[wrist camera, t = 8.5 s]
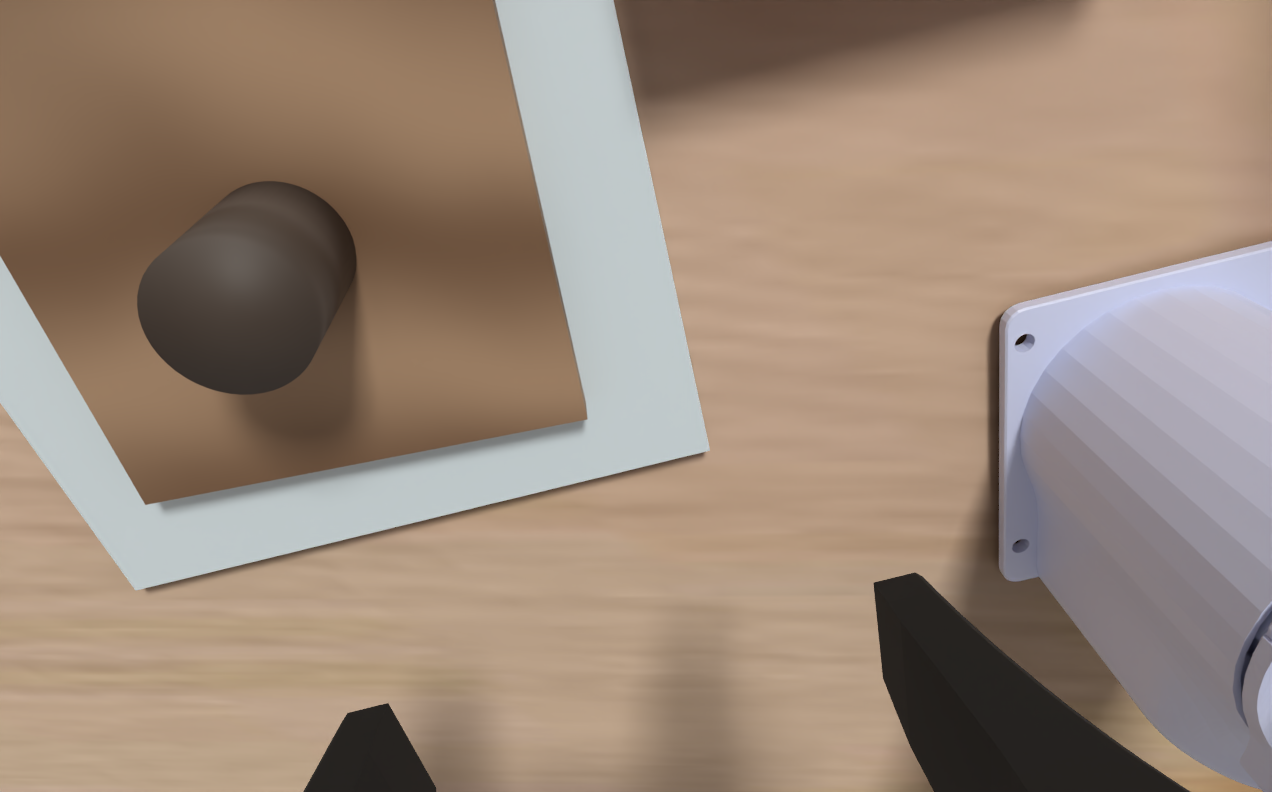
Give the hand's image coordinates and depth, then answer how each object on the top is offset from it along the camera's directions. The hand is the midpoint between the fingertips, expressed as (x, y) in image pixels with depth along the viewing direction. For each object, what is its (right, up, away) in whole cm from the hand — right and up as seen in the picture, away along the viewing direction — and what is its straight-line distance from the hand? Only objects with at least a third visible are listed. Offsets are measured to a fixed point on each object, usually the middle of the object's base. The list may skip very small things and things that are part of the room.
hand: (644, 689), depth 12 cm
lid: (-8, +8, +6) cm, 13 cm away
